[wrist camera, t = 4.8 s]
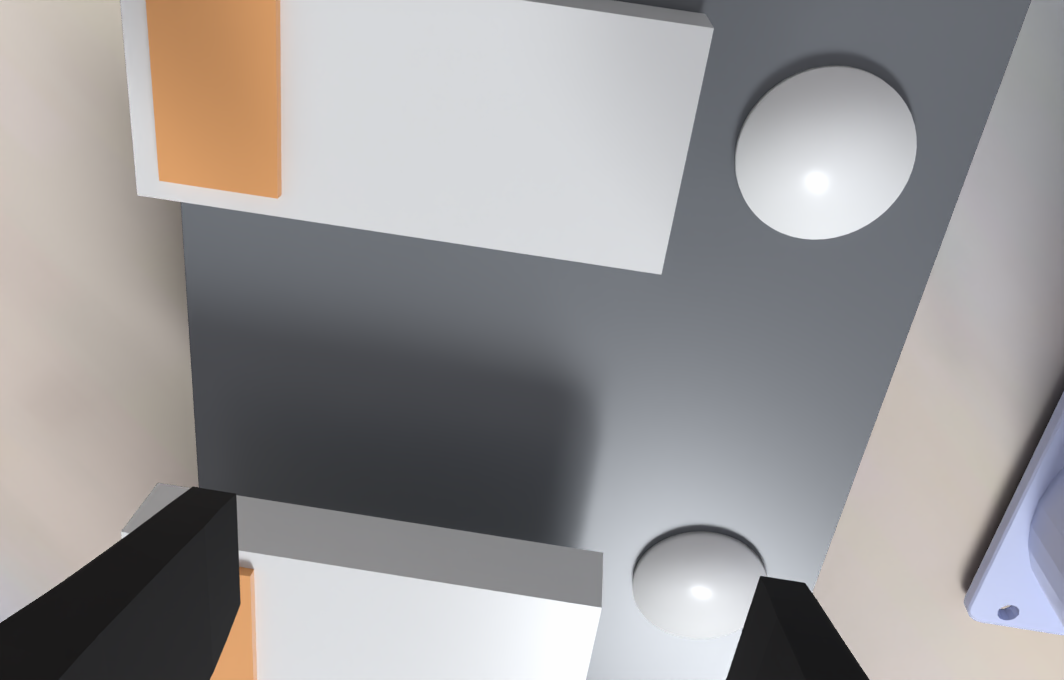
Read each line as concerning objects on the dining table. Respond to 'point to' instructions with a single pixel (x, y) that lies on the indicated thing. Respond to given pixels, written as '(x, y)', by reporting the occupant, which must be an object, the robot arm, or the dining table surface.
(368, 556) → the switch on end
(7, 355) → the dining table surface
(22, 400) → the dining table surface
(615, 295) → the switch panel
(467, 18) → the switch middle
